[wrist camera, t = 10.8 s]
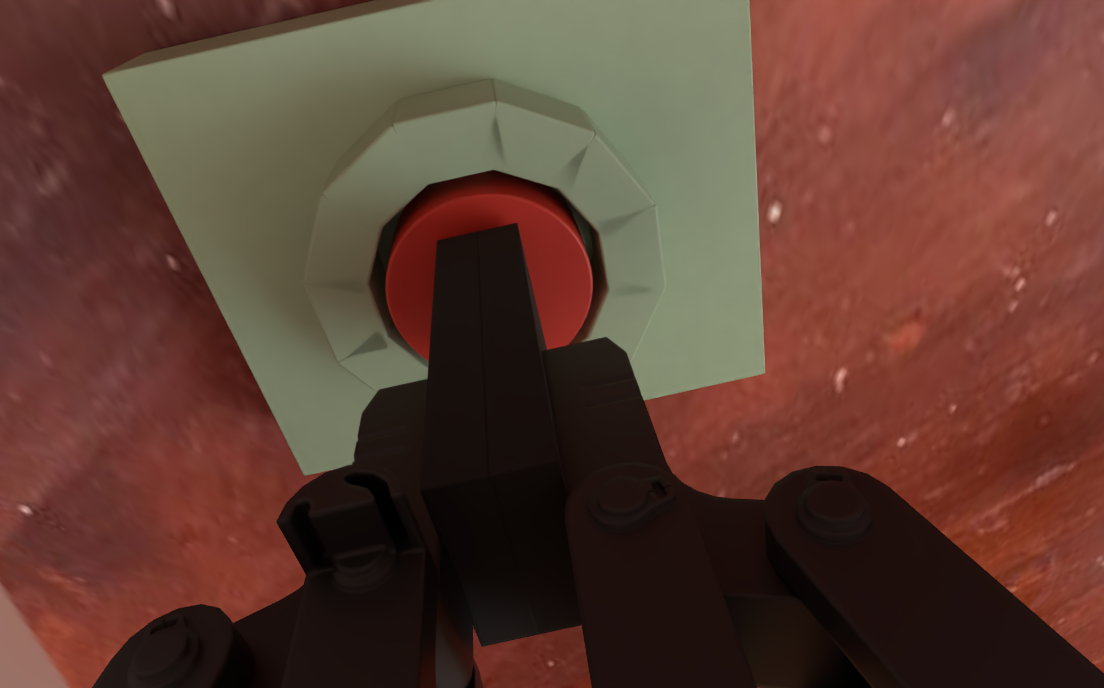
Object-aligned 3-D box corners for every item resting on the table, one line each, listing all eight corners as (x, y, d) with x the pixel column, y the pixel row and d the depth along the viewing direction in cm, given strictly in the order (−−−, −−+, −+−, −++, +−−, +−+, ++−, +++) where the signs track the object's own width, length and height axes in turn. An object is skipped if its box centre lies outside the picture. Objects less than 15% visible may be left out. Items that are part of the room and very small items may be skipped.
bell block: (318, 423, 20) (290, 528, 17) (143, 52, 15) (53, 98, 12) (738, 330, 20) (793, 417, 17) (711, -77, 15) (784, -69, 12)
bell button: (423, 352, 17) (419, 397, 15) (366, 188, 15) (355, 221, 13) (594, 314, 17) (607, 356, 15) (562, 143, 14) (574, 172, 13)
